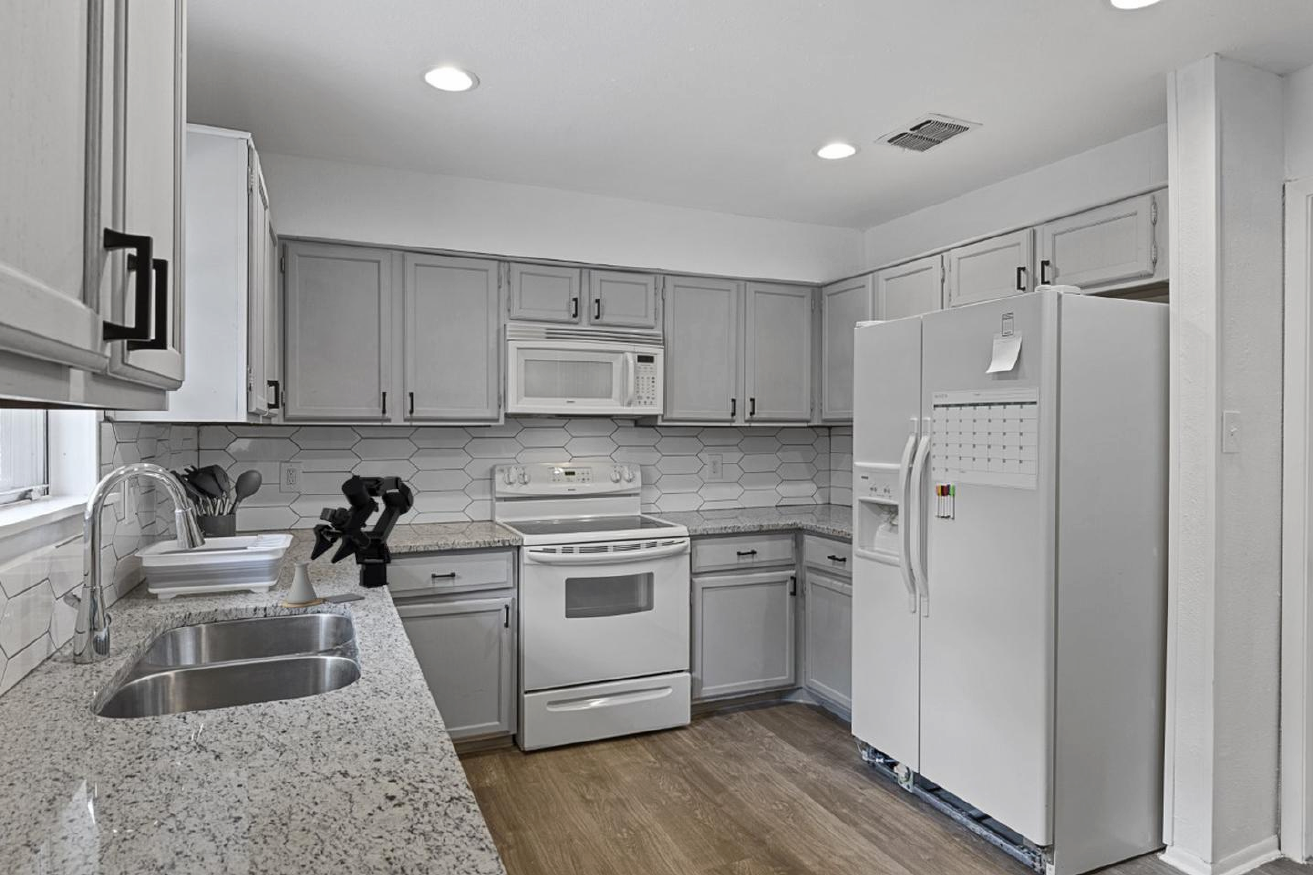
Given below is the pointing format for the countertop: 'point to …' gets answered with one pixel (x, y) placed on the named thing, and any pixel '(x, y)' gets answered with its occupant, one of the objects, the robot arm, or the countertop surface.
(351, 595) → the slate coaster
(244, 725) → the countertop surface
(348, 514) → the robot arm
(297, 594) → the flask
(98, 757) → the countertop surface
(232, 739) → the countertop surface
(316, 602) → the cork trivet
